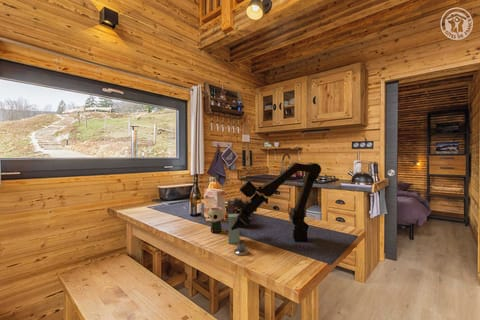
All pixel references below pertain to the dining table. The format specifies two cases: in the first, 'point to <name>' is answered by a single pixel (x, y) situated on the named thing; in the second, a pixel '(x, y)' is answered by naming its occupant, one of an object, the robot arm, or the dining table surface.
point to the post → (241, 249)
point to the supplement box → (232, 207)
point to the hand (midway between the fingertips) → (231, 226)
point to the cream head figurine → (216, 218)
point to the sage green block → (233, 234)
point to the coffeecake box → (213, 200)
